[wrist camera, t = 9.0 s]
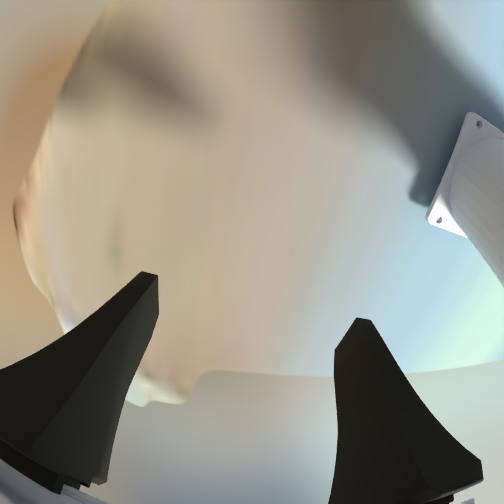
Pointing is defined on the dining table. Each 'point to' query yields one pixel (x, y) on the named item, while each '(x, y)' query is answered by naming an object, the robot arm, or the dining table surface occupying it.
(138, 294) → the robot arm
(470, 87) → the dining table surface
